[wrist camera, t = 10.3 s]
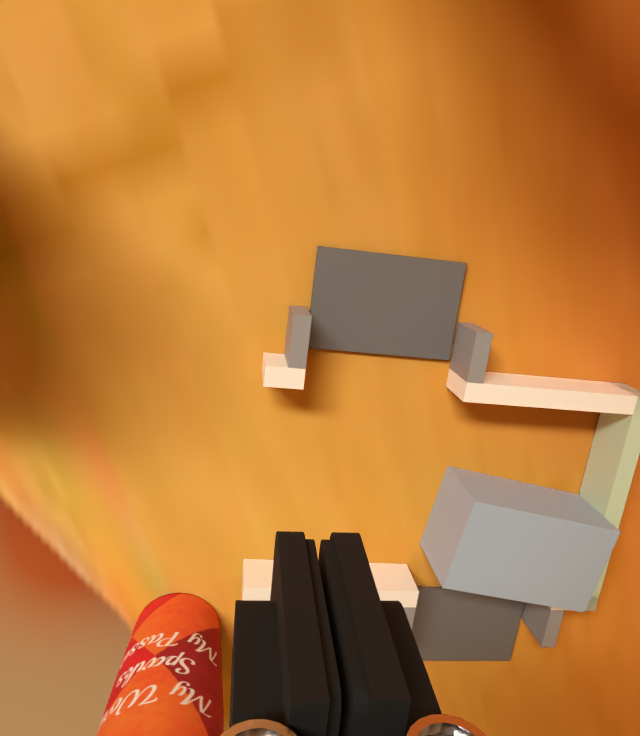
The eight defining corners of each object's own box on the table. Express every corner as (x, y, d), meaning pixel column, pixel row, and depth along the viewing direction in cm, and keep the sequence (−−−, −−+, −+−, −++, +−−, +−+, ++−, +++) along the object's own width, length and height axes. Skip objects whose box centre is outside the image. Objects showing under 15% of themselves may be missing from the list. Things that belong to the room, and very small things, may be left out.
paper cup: (223, 567, 38) (211, 762, 25) (245, 659, 40) (245, 884, 27) (104, 593, 38) (27, 806, 24) (133, 685, 40) (77, 927, 26)
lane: (274, 240, 33) (277, 244, 30) (651, 284, 37) (685, 291, 34) (234, 656, 40) (233, 690, 37) (551, 658, 44) (572, 689, 41)
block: (446, 464, 38) (475, 501, 34) (576, 492, 40) (620, 531, 36) (418, 541, 40) (442, 588, 35) (545, 565, 42) (584, 612, 37)
